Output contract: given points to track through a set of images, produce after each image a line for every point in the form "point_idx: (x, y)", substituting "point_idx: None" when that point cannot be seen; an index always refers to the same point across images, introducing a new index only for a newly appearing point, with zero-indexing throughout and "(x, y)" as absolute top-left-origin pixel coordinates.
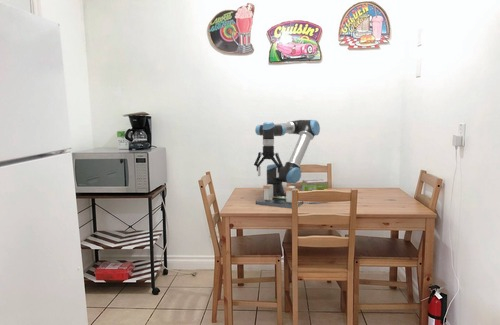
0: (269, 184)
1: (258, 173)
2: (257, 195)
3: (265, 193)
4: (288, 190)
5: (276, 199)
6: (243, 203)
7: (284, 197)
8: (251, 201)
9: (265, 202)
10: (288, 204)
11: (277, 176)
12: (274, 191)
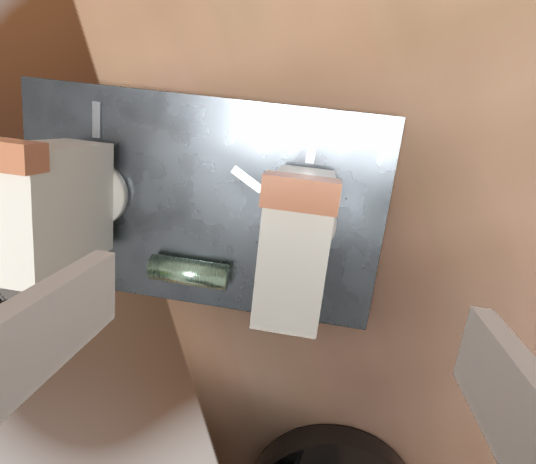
0: (296, 326)
1: (500, 333)
2: (465, 433)
3: (314, 174)
4: (15, 139)
5: (236, 249)
6: (531, 118)
7: (161, 261)
8: (468, 215)
9: (300, 108)
10: (87, 101)
11: (84, 259)
12: (311, 459)
